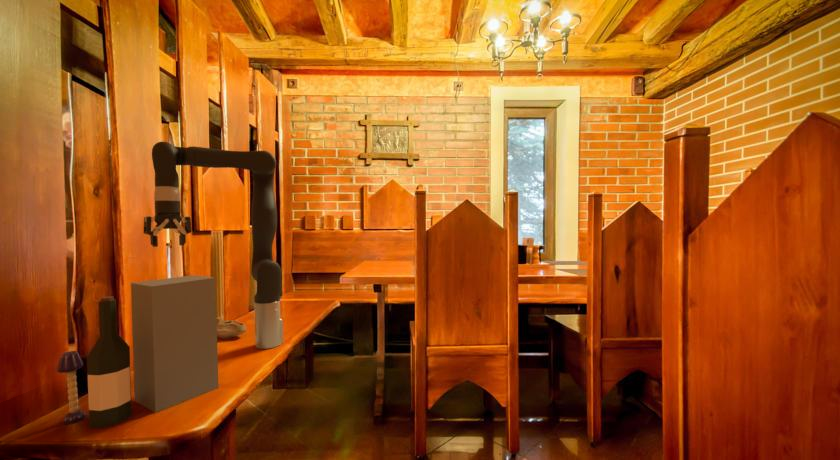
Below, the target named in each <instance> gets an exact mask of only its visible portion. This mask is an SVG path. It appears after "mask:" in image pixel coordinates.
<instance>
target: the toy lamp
mask: <svg viewBox="0 0 840 460" xmlns="http://www.w3.org/2000/svg"><path fill="white" fill-rule="evenodd" d="M83 367H84V362H83V360H82V358H81V355H80V354H79V352H78V350H71V351H67V352H64V353H61V355H60V357H59V361H58V365H57V368H56V369H57V370H56V371H57V373H59V374H61V373H63V374H64V373H65V375H66V382H67V383H66V387H67V388H68V389H67V394H68V396H67V400H68V406H69V409H68V410H69V412H68V413H67V414H66V415H65V416H64V417H63V420H62V424H63V425H70V424H74V423H78V422H80V421H83V420H85V419H86V417H87V413H86V412H85V411H84V410H82V409H80V406H79V399H78V398H79V395H78V390H79V389H78V387H77V386H78V382H77V378H78V377H77V375H76V374H77V370H80V369H82V368H83Z"/></svg>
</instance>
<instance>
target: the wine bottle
mask: <svg viewBox="0 0 840 460" xmlns="http://www.w3.org/2000/svg"><path fill="white" fill-rule="evenodd" d="M97 305H98V323H99V324H98V325H99V326H98V331H99V332H98V333H99V336H98V338H97V340H96V342H94V345H93V346H92V348H91V350H90V351H89V353H88V355H87V357H86V365H87V367H86V370H87V371H86V372H87V390H88V391H87V392H88V395H87V396H88V420H89V421H88V422H89V423H88V425H89V428H91V429H104V428H108V427H112V426H116V425H120V424H121V423H123V422H125V421H126V420H128V419H130V418H132V414H133V413H132V412H133V405H132V404H133V403H132V379H131V378H132V375H131V350H130V349H131V347H130V345H129V344H128V343H127V342H126V341H125V340H124V338H122V337H121V335H120V334H119V333H118V321H117V320H118V318H117V316H118V315H117V299H116V298H114V295H113V296H103V297H101V298H100V300H99V301H98V304H97Z"/></svg>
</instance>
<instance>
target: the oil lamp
mask: <svg viewBox="0 0 840 460" xmlns="http://www.w3.org/2000/svg"><path fill="white" fill-rule="evenodd" d="M247 330H248V329H247V326H246V324H245V323H242V322H239V321H237V320H229V319H227V320H224V319H222V317H220V316H219V317H217V338H219V339H232V338H235V337H236V336H240V335H243V334H245V332H246V331H247Z"/></svg>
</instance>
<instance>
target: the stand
mask: <svg viewBox="0 0 840 460" xmlns="http://www.w3.org/2000/svg"><path fill="white" fill-rule="evenodd" d="M216 282H217V281H216V277H213V276H203V275H192V274H191V275H185V276H177V277H169V278H168V277H167V278H161V279H153V280H145V281H135V282H131V283H130V295H131V296H130V297H131V298H130V299H131V301H130V303H131V331H132V359H133V360H132V362H133V363H132V364H133V365H132V366H133V388H134V389H133V390H134V391H133V393H134V402H136V403H137V404H138V405H141V406H143V407H145V408H146V409H148V410H150V411H152V412H154V413H158V412H161V411H164V410H166V409H168V408H171V407H173V406H176V405H179V404H181V403H183V401H184V402H186V401H189V400H192V399H193V398H195V397H199V396H201V395H204V394H206V393H209V392H211V391H214V390H217V389H219V363H218V362H219V361H218V360H219V359H218V358H219V357H218V336H217V318H218V317H217V291H216V290H217V288H216ZM188 399H189V400H188Z"/></svg>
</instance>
